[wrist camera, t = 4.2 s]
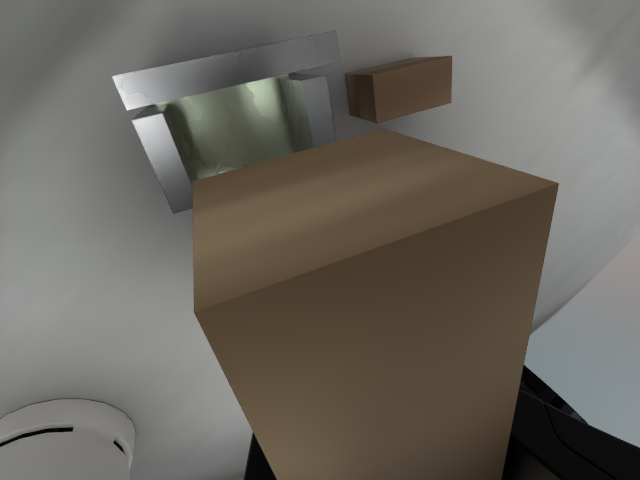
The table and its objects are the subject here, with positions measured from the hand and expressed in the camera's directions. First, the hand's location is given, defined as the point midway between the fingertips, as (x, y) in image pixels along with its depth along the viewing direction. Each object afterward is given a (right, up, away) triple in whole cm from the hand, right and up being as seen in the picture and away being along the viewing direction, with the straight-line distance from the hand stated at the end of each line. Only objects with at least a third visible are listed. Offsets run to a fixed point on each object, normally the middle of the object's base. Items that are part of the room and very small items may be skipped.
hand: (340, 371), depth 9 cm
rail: (0, 0, 0) cm, 0 cm away
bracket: (-4, +5, +10) cm, 11 cm away
